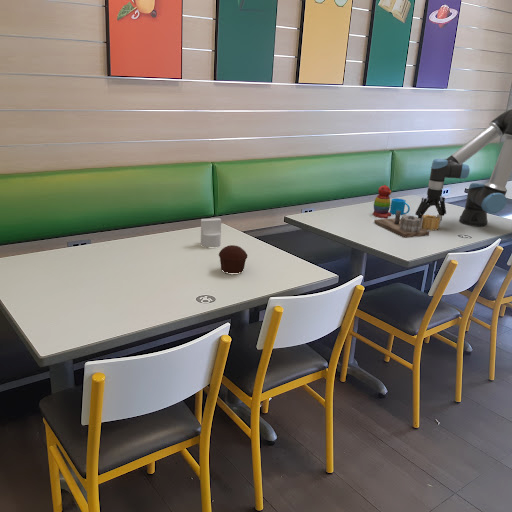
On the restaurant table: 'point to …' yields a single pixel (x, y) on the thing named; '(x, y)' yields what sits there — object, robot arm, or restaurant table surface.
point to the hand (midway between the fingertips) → (428, 227)
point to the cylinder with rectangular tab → (211, 232)
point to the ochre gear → (430, 222)
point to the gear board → (396, 228)
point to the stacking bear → (382, 203)
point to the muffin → (232, 259)
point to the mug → (398, 206)
